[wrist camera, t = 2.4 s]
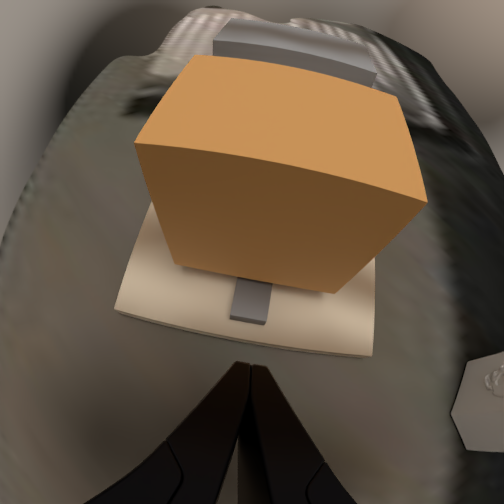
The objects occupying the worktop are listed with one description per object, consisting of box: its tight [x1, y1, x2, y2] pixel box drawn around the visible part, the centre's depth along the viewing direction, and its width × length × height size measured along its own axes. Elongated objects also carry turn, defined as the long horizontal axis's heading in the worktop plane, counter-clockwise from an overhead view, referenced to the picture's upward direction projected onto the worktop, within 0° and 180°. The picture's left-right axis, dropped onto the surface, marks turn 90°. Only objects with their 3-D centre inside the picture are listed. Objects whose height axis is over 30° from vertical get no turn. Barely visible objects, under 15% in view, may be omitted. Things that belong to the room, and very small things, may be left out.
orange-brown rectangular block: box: [134, 55, 428, 294], centre depth 13 cm, size 6×9×9 cm, turn 80°
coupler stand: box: [114, 18, 377, 358], centre depth 18 cm, size 24×16×9 cm, turn 170°
